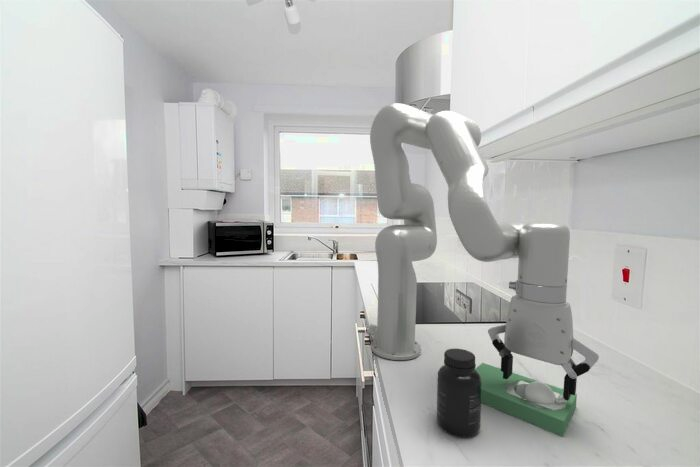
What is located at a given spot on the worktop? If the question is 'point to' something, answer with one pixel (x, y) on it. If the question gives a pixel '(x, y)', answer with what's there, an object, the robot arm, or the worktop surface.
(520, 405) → the green flat slab
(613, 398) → the worktop surface
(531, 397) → the ball
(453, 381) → the supplement bottle
